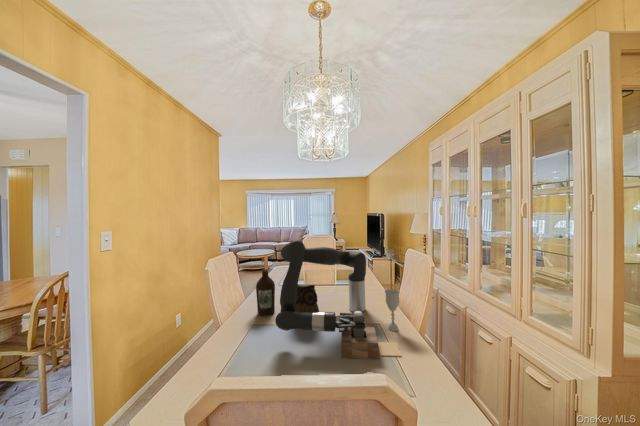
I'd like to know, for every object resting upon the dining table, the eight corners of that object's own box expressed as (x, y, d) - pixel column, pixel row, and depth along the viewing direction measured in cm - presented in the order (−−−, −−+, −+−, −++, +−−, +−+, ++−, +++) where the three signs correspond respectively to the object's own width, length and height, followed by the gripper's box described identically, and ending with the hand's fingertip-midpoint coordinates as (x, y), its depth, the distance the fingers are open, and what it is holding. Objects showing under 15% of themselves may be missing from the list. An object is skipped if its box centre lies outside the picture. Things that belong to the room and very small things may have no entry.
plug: (354, 346, 109) (353, 310, 109) (363, 346, 108) (362, 310, 108) (354, 351, 105) (353, 314, 105) (364, 351, 104) (363, 314, 104)
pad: (377, 343, 111) (377, 342, 111) (396, 343, 110) (396, 342, 110) (380, 356, 101) (380, 355, 101) (401, 356, 100) (401, 355, 100)
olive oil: (257, 310, 152) (256, 268, 152) (275, 309, 154) (274, 267, 154) (255, 317, 142) (254, 272, 142) (275, 316, 143) (274, 270, 143)
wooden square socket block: (342, 339, 114) (342, 326, 114) (374, 340, 113) (374, 327, 113) (341, 357, 100) (341, 342, 100) (378, 358, 99) (378, 343, 99)
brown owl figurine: (320, 324, 131) (319, 285, 130) (296, 328, 127) (295, 287, 127) (314, 315, 143) (313, 279, 143) (291, 318, 139) (290, 281, 139)
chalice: (390, 333, 119) (389, 294, 119) (382, 326, 126) (381, 290, 126) (404, 330, 121) (402, 292, 121) (396, 324, 128) (395, 288, 128)
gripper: (321, 319, 101) (365, 320, 99) (325, 306, 115) (363, 306, 113) (322, 338, 101) (366, 339, 99) (325, 323, 115) (363, 323, 113)
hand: (364, 322), depth 106 cm, fingers open, 5 cm apart
